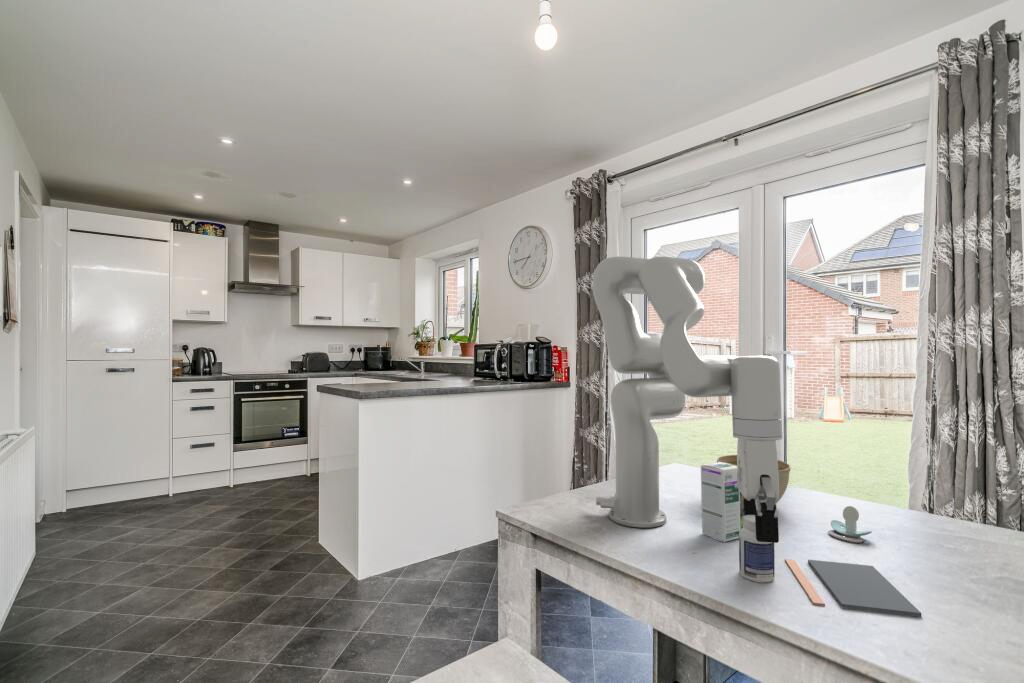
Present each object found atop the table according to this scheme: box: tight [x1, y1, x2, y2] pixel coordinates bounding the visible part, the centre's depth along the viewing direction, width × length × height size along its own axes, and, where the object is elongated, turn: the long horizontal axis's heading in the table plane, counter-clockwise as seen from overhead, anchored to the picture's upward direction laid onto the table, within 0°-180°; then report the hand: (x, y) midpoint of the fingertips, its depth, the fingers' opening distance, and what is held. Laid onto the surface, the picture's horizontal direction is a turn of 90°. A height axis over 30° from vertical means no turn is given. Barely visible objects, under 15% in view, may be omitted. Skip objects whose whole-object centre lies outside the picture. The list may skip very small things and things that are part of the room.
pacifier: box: [827, 505, 873, 544], centre depth 101 cm, size 7×6×6 cm
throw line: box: [784, 558, 826, 607], centre depth 82 cm, size 2×16×1 cm, turn 165°
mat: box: [807, 559, 922, 618], centre depth 80 cm, size 10×16×1 cm, turn 165°
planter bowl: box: [716, 454, 791, 511], centre depth 121 cm, size 16×16×11 cm
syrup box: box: [700, 462, 744, 543], centre depth 102 cm, size 6×6×14 cm
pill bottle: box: [738, 515, 776, 583], centre depth 84 cm, size 5×5×10 cm
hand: (760, 531), depth 84 cm, fingers open, 9 cm apart
